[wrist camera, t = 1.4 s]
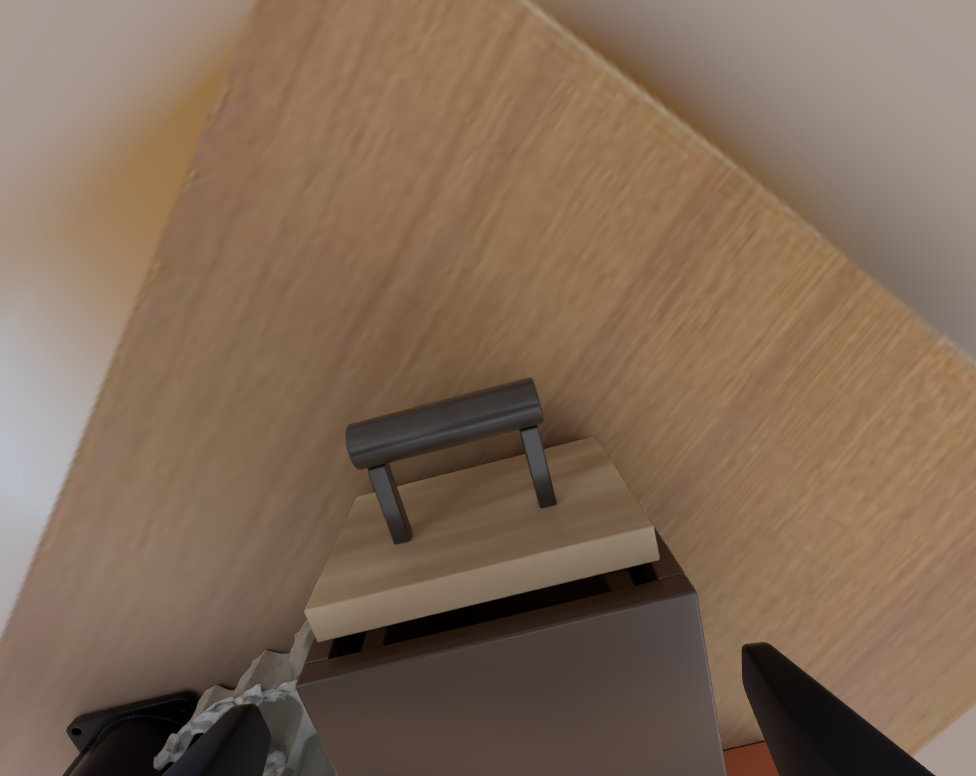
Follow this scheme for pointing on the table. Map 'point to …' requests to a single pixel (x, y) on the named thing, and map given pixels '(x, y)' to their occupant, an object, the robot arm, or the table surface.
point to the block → (750, 761)
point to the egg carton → (265, 713)
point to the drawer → (475, 525)
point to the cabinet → (529, 691)
